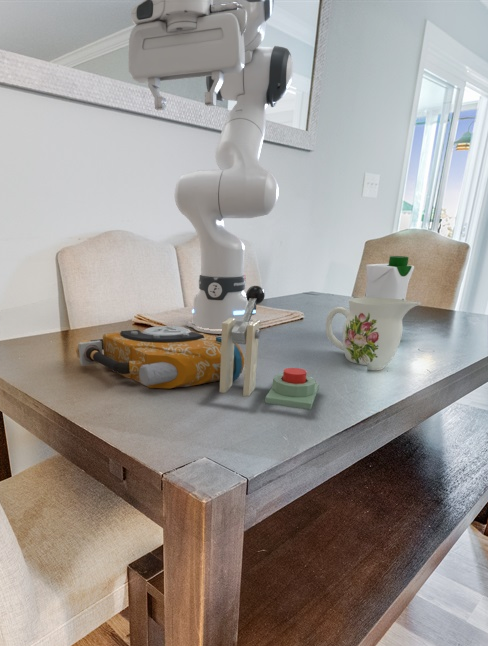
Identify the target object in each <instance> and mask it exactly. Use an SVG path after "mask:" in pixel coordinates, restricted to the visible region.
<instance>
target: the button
mask: <svg viewBox="0 0 488 646" xmlns="http://www.w3.org/2000/svg"><path fill="white" fill-rule="evenodd" d="M282 372H283V381H284V382H287V383H292V384H303V383H306V376H308V375H307V374H308V372H307V370H305V369H303V368H299V367H286V368H284V369H283V371H282Z"/></svg>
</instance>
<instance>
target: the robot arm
mask: <svg viewBox="0 0 488 646" xmlns="http://www.w3.org/2000/svg"><path fill="white" fill-rule="evenodd" d="M274 5H275V0H142V1H141V2H139V3H137V4H136V5H135V6H133V7H132V8H131V11H130V18H131V21H132V23H133V24H134V27H132V29H131V31H130V34H129V38H128V52H127V53H128V54H127V60H128V61H127V64H128V65H127V66H128V68H127V69H128V73H129V75H130V76H131V78H132V79H133V80H134V81H136V82H137V83H139V84H146V83H147V86H148V88H149V90H150V92H151V94H152V96H153V98H154V100H153V101H154V109H155V110H156V111H166V110H167V105H166V104H167V98H166V97H164V96H161V94H160V91H159V90H158V89H160V88H161V82H166V81H172V80H173V81H175V80H184V79H192V78H203V77H205V85H206V86H205V87H206V90H207V91H206V92H204V98H205V99H204V105H205V106H206V107H215V106H217V101H220V102H225V101H233V102H236V103H235V104H234V106H233V107H232V108H231V110H230V112H229V113H228V116H227V117H226V120H225V122H224V124H223V127H222V129H221V133H220V136H219V139H218V142H217V145H216V148H215V151H214V154H215V155H214V157H215V163H216V165H217V167H218V168H219V169H199V170H195V171H191V172H187V173H184V174H181V176H179V178H178V180H177V181H176V184H175V187H174V193H173V194H174V201H175V205H176V208H177V209H178V211H179V213H181V214H182V215H183V216H184V217H185V218H186V219H187V220H188V221H189V222H190V223H191V225H192V226H193V228H194V230H195V232H196V235H197V237H198V241H199V246H200V274H199V277H198V278H199V279H198V289H199V291H198V293H197V294H195V295H194V297H193V306H192V309H191V313H192V319H191V321H192V323H193V324H195V325H196V326H199V327H202V328H209V329H222V323H223V322H225V321H226V320H228V319H229V318H235V319H236V320H235V321H241V319H242V317H243V314H244V312H245V309H246V307H247V304H248V301H247V299H246V292H245V289H246V281H247V280H246V279H247V277H246V274H244V269H245V252H246V248H245V244H244V242H243V241H242V239H240V237H238V236H237V235H235V234H233V233H231V232H230V231H228V230H227V229H226V226H225V223H224V219H253V218H258V217H263V216H268V215H269V214H270V213H271V212H272V211H273V209H274V208H275V207H276V204H277V202H278V198H279V185H278V181H277V179H276V178H275V176H274V175H273V173H272V172H271V171H270V170H267V169H266V168H264V167H263V166H262V164H261V163H260V155H261V150H262V146H263V143H264V139H265V133H266V121H267V119H266V109H267V107H268V106H269V105H270V108H274V107H276V105H277V102H278V101H280V100H281V99H282V98H283V97H284V96H285V95H286V94H287V92H288V91H289V88H290V85H291V83H292V80H293V75H294V64H293V59H292V53H291V52H290V50H289V49H288V48H286V47H284V46H278V45H274V46H260V45H261V44H262V42H263V40H264V39H265V35H266V31H267V21H268V20H270V18H271V17H272V15H273V11H274ZM256 314H257V304H256V305H255V308H254V311H253V313H252V316H254V315H256ZM186 326H187V327H189V328H192V329H194V330H195V331H196V332H199V333H204V334H214V335H216V334H217V335H222V334H221V331H210V330H204V329H200V328H197V327H195V326H194V325H192V324H189V323H188V322H187V325H186Z"/></svg>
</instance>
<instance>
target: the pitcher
mask: <svg viewBox="0 0 488 646" xmlns="http://www.w3.org/2000/svg"><path fill="white" fill-rule="evenodd" d="M421 304H422V302H420V301H417V300H416V301H414V300H407V299H405V300H401V299H391V298H379V297H365V296H357V297H351V298H349V299H348V307H349V308H345V307H343V306H336V307H333V308H332V309H331V310H330V311H329V313H328V314H327V316H326V320H325V335H326V337H327V339H328V340H329V342H330V343H331V345H333V346H335V347H336V348H338V349H340V350H341V351H343V353H344V355H345V358H346V360H347V361H349V362H351V363H354V364H357V365H362V366H367V368H366V371H380V370H383V369H385V367H387V365H388V364H389V363H390V362H391V361H392V360H393V358H394V357H395V355H396V353H397V351H398V349H399V347H400V343H401V340H402V336H403V329H404V328H403V319H404V317H405V316H406V314H407V313H408V312H409V311H410V310H411V309H413V308H415V307H418V306H419V305H421ZM337 314H342V315H343V316H344V317H345V318H346V319H345V321H344V324H343V329H342V341H341V340H339V339H338V338H337V337H336V336H335V334H334V332H333V327H332V326H333V320H334V317H335V316H336V315H337Z"/></svg>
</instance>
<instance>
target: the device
mask: <svg viewBox="0 0 488 646" xmlns="http://www.w3.org/2000/svg"><path fill="white" fill-rule="evenodd" d="M221 339H222V336H215V335H210V334H208V333H205V332H198V331H193V330H190V329H189V328H186V327H183V326H175V325H159V326H157V325H155V326H152V327H147V328H145V329H144V330H143V329H130V330H121V331H120V332H119V331H118V332H112V333H104V334H103V335H102V338H100V339H99V338H98V339H91V340H90V339H83V340H80V341H79V342H78V343H77V344H76V346H75V353H76V357H77V358H78V360H79V365H80V366H82V367H84V366H90V365H96V364H100V365H102V366H104V367H105V368H107V369H109V370H111V371H113V372H115V373H117V374H119V375H121V376H123V377H125V378H126V379H127V378H129V379H131V380H134V381H136V382H138V383H140V384H141V385H144V386H145V387H147V388H149V389H169V390H170V389H173V388H174V389H175V388H179V387H181V388H183V387H184V388H188V387H193V386H198V385H203V384H209V383H215V382H220V366H221ZM244 367H245V355H244V354H243V351H242V349H241V347H240V346H239V344H235V343H234V362H233V381H236V380H237V379H239V378H240V375H241V374H242V373H243V370H244Z"/></svg>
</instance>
